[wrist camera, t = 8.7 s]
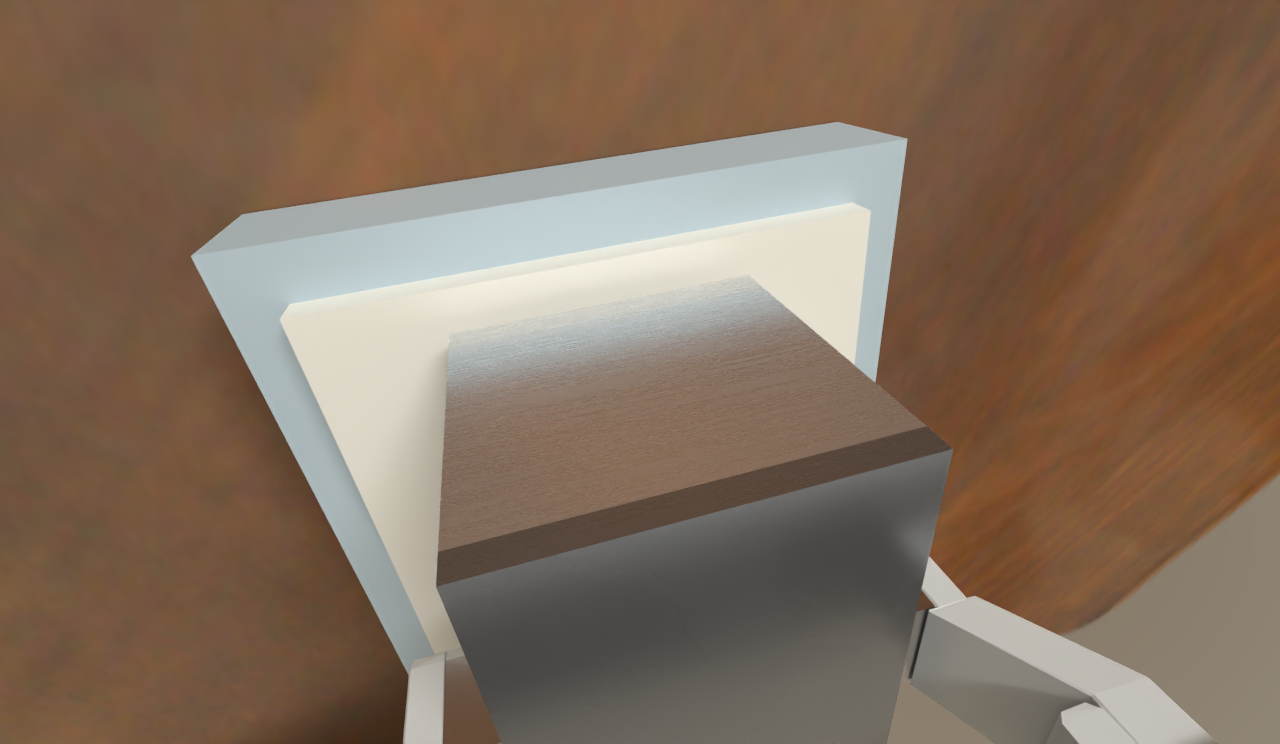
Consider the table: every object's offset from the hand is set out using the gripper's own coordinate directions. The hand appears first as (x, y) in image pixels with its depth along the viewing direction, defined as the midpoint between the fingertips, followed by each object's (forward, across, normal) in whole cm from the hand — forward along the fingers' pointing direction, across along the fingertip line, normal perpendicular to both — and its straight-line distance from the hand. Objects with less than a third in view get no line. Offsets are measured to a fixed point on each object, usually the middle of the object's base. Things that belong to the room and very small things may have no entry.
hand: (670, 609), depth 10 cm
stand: (+6, 0, 0) cm, 6 cm away
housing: (+3, 0, 0) cm, 3 cm away
